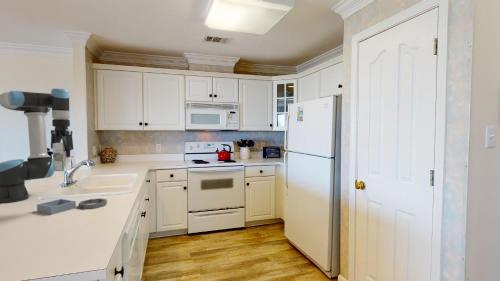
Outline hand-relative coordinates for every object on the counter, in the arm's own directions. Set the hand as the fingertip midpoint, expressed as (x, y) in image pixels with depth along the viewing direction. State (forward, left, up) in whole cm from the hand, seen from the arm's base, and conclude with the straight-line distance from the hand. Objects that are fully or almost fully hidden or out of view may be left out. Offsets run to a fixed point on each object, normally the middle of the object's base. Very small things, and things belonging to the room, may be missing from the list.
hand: (62, 162), depth 141 cm
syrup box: (0, 0, -4) cm, 4 cm away
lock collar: (+8, +10, -24) cm, 28 cm away
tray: (-2, -3, -24) cm, 25 cm away
